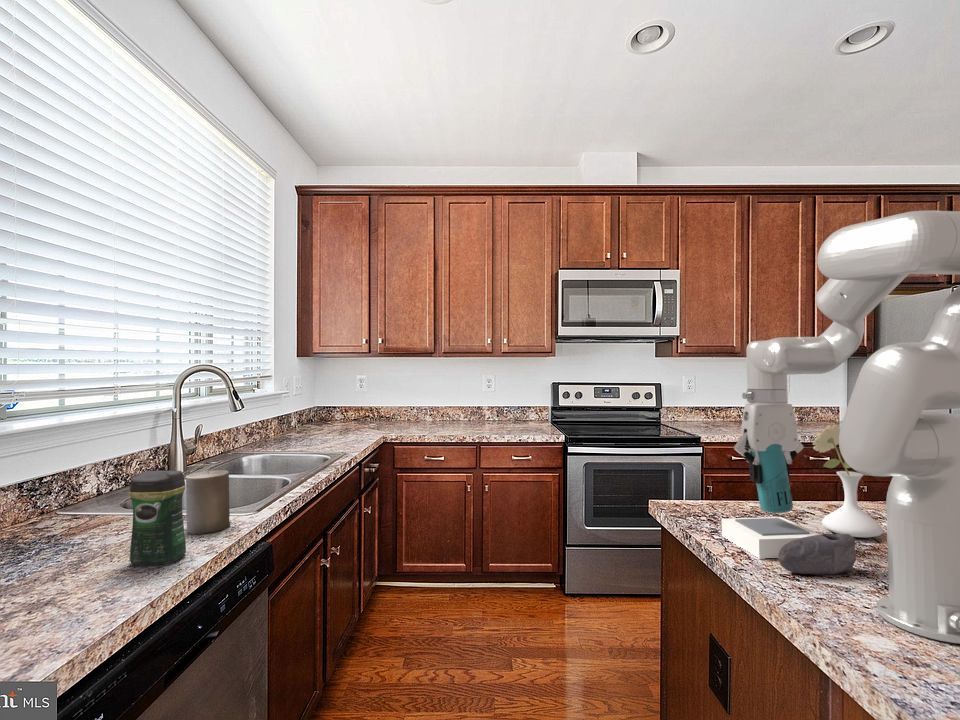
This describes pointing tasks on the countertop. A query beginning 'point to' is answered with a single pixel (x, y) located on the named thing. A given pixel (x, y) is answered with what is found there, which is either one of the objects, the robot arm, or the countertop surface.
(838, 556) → the perforated stone tool
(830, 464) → the flower in vase
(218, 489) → the pillar candle
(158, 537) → the coffee jar
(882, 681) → the countertop surface
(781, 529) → the white picture frame
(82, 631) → the countertop surface
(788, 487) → the beverage bottle
